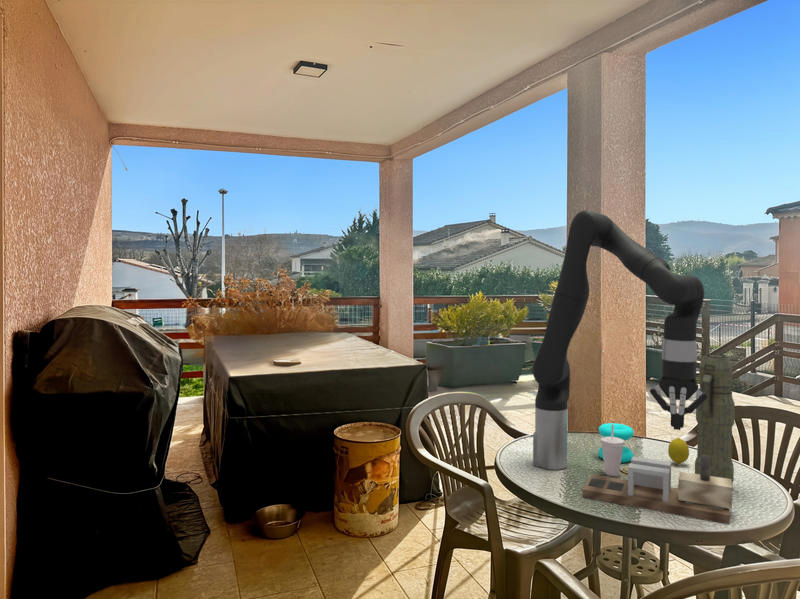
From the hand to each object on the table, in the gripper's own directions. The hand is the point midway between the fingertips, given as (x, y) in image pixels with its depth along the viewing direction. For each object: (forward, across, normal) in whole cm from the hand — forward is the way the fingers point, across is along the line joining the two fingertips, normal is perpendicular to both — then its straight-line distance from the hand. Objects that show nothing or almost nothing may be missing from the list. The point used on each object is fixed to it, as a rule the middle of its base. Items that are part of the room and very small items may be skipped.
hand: (676, 428), depth 134 cm
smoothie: (+19, +17, -15) cm, 30 cm away
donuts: (+19, +18, -29) cm, 39 cm away
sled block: (+16, -6, 0) cm, 17 cm away
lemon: (+19, +1, -32) cm, 37 cm away
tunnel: (+17, +6, 0) cm, 18 cm away
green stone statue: (+19, -8, -17) cm, 27 cm away
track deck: (+19, +5, 0) cm, 19 cm away
